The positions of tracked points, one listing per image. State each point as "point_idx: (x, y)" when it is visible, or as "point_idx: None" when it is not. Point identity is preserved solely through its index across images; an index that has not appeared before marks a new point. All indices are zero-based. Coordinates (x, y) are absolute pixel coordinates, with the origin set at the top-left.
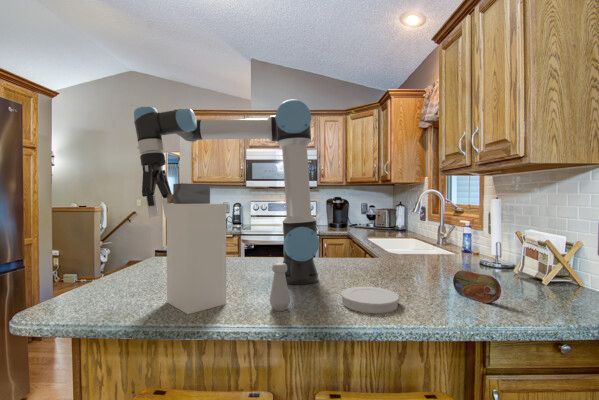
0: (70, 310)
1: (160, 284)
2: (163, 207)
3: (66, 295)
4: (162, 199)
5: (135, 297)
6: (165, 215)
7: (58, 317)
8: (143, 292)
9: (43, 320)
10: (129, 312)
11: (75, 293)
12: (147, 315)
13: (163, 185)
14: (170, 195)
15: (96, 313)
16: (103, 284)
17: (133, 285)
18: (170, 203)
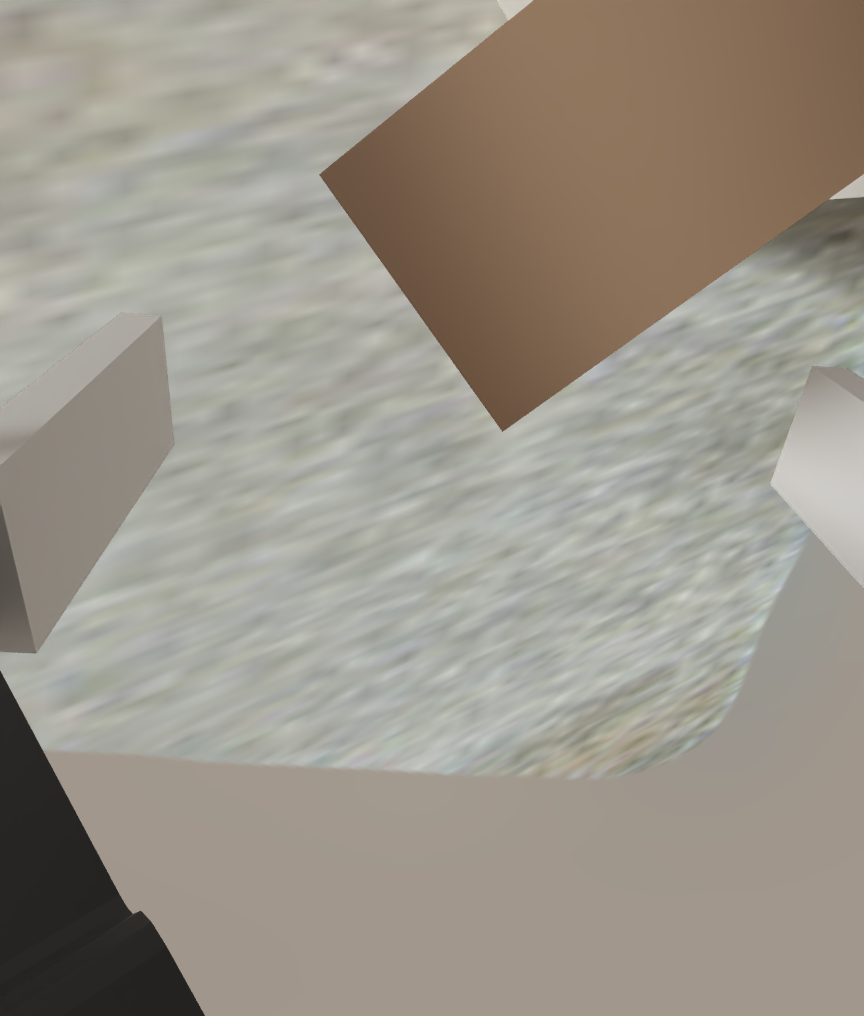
0: (630, 632)
1: (211, 366)
2: (118, 523)
3: (393, 759)
4: (42, 628)
5: (486, 425)
6: (169, 436)
7: (709, 631)
8: (391, 414)
9: (728, 664)
10: (731, 366)
11: (363, 740)
12: (803, 260)
13: (76, 846)
14: (708, 270)
15: (702, 509)
16: (193, 695)
17: (226, 527)
18: (73, 400)
